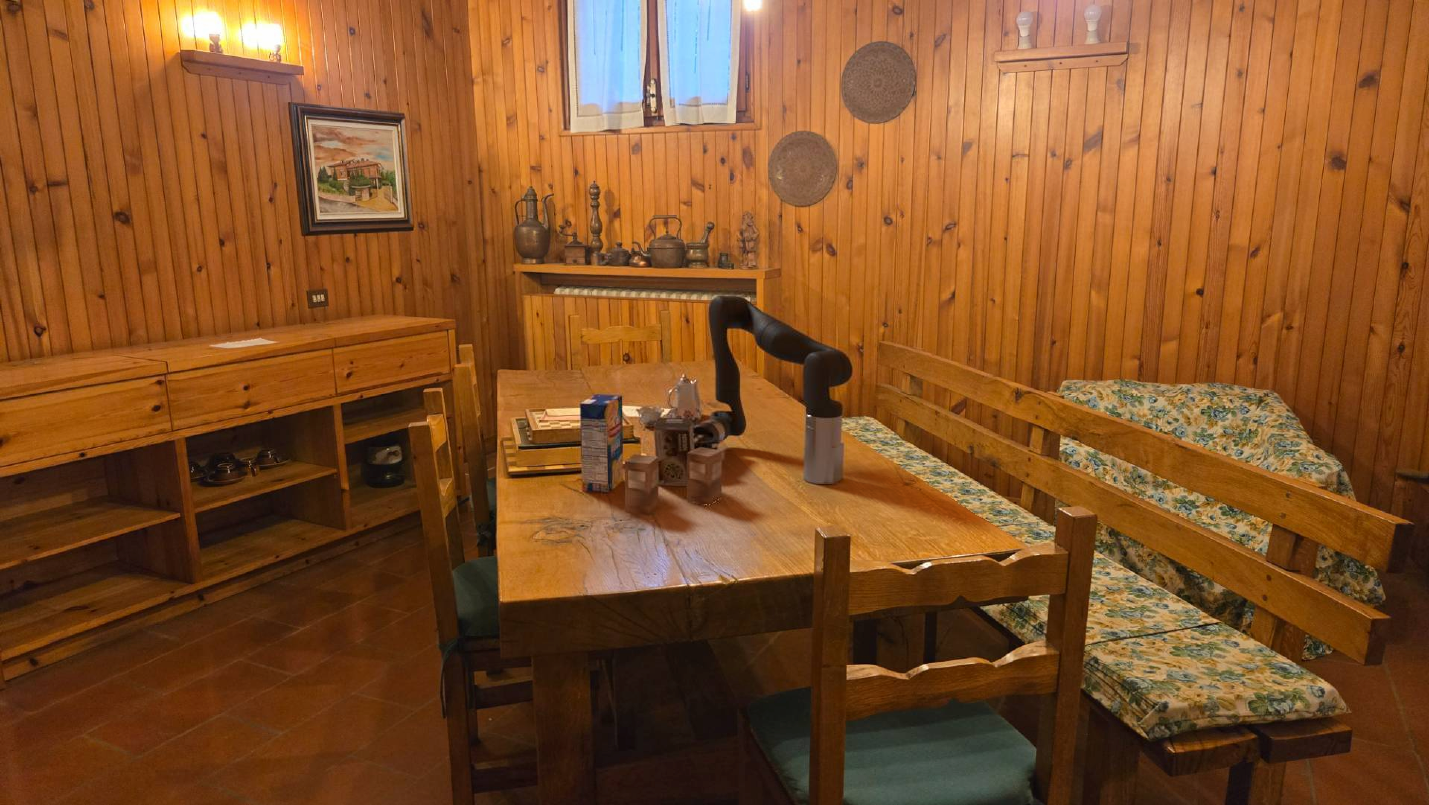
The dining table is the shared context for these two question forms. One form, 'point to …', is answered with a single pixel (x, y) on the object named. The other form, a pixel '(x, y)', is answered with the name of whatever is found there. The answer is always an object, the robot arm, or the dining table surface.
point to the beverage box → (601, 443)
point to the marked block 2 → (704, 475)
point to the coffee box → (673, 449)
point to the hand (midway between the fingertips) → (682, 450)
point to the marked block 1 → (641, 484)
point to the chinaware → (676, 404)
